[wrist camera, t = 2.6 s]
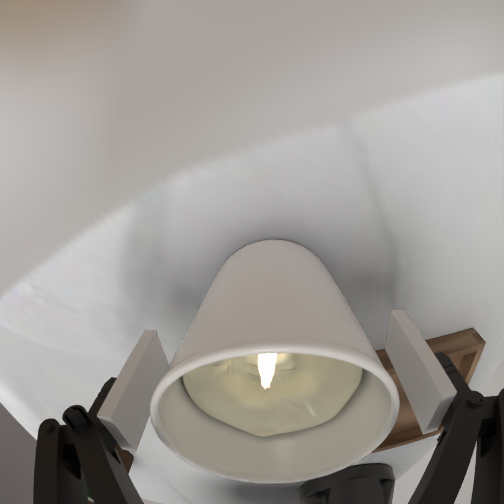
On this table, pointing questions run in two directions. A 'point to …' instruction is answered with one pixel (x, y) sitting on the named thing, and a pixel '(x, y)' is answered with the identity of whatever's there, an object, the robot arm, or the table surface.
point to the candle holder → (274, 374)
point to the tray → (406, 427)
